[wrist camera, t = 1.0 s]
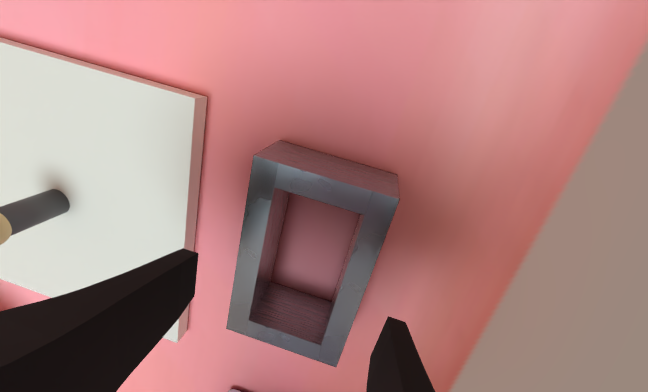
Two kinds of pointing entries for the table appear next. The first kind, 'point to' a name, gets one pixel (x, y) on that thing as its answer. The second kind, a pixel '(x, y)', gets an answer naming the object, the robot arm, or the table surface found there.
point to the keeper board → (92, 171)
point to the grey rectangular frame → (263, 238)
